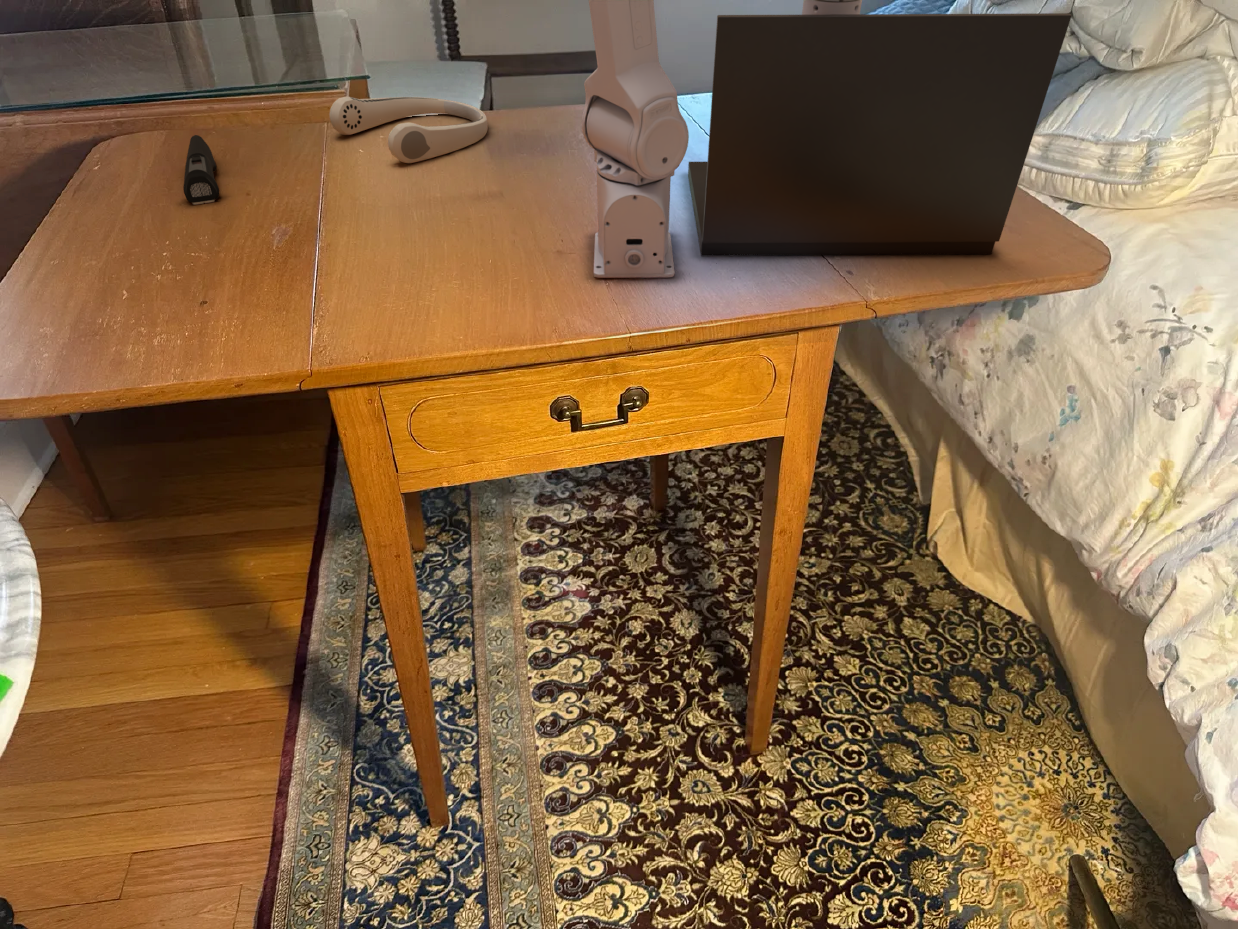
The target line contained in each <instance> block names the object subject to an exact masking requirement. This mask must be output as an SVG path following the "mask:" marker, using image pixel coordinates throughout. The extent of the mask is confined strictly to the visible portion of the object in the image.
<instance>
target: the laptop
mask: <svg viewBox="0 0 1238 929" xmlns="http://www.w3.org/2000/svg"><path fill="white" fill-rule="evenodd" d="M707 162H708V161H688V167H687V168H688V169H687V178H688V185H689V190H690V196H691V202H692V209H693V215H694V221H695V226H696V234H697V238H698V239H697V240H698V244H699V245H698V246H699V252H700V256H703V257H704V256H707V257H709V256H710V257H711V256H712V257H713V256H716V257H717V256H866V255H867V256H884V255H885V256H888V255H891V256H892V255H893V256H894V255H895V256H899V255H901V256H902V255H907V256H908V255H910V256H911V255H912V256H913V255H915V256H916V255H917V256H918V255H992V254H993V251H994V248H995V244H996V242H816V243H703V241H702V236H703V222H704V207H705V192H706V177H707Z"/></svg>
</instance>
